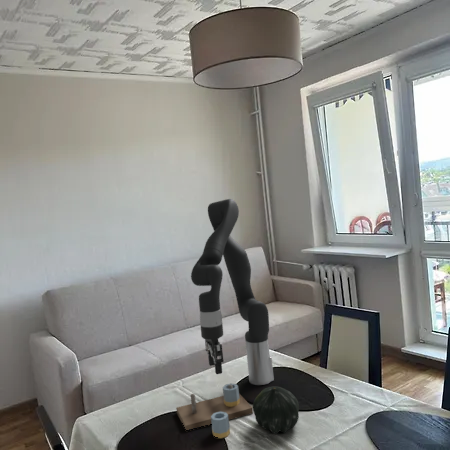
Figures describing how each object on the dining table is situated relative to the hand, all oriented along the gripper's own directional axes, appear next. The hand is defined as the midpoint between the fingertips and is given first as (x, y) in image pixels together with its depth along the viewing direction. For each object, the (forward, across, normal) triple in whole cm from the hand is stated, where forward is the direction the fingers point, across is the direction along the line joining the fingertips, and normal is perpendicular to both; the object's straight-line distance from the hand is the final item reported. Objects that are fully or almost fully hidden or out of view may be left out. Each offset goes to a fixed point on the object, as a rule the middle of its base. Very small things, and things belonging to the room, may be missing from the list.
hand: (215, 369), depth 153 cm
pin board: (+18, +5, +1) cm, 18 cm away
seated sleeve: (+15, +5, -6) cm, 17 cm away
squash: (+18, -14, -16) cm, 27 cm away
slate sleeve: (+18, -10, +2) cm, 20 cm away
